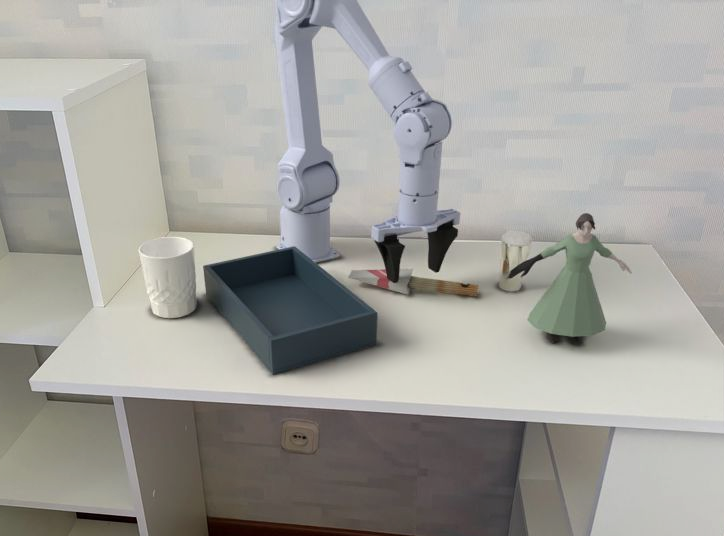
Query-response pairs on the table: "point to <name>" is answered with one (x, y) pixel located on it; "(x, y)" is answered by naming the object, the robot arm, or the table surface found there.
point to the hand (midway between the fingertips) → (413, 275)
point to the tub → (289, 308)
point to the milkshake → (513, 257)
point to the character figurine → (571, 287)
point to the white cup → (169, 275)
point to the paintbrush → (412, 282)
